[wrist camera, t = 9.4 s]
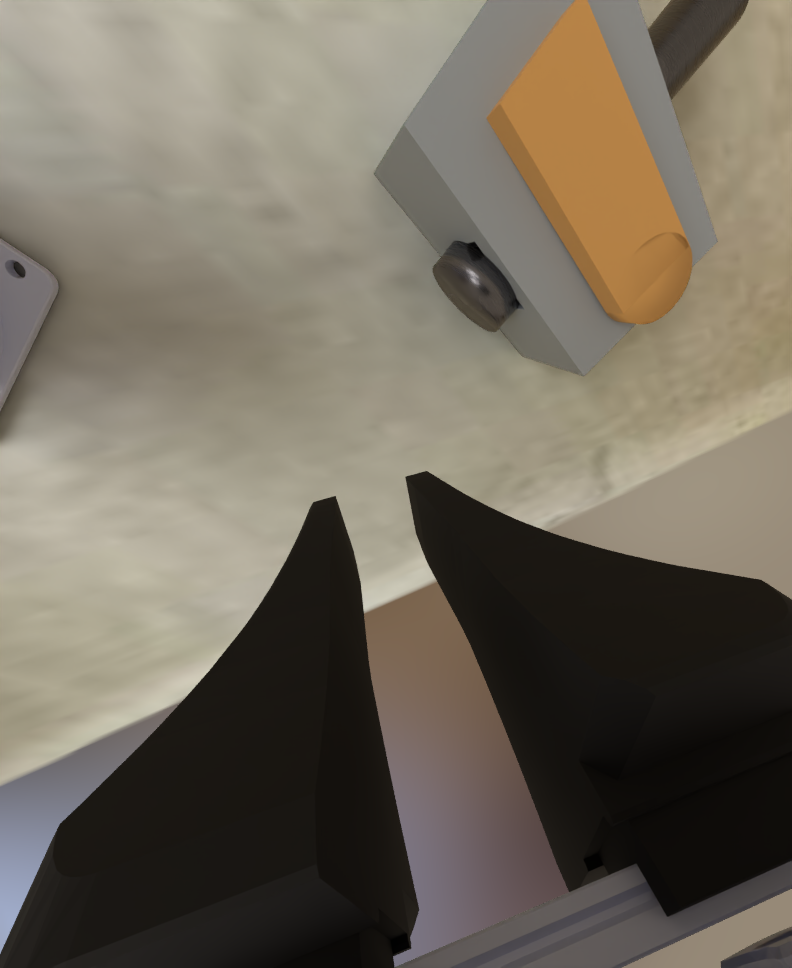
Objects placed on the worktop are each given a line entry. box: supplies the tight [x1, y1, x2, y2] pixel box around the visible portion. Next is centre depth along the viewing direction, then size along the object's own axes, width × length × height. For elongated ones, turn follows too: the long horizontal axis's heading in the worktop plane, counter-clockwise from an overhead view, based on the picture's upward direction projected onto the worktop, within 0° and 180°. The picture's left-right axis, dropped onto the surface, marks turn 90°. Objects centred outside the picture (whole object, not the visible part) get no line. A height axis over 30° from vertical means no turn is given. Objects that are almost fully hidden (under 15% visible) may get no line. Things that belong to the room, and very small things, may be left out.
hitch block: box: [374, 0, 718, 376], centre depth 12 cm, size 10×6×5 cm, turn 48°
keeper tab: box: [486, 0, 692, 324], centre depth 10 cm, size 8×3×1 cm, turn 48°
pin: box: [433, 0, 748, 332], centre depth 12 cm, size 11×3×3 cm, turn 138°
